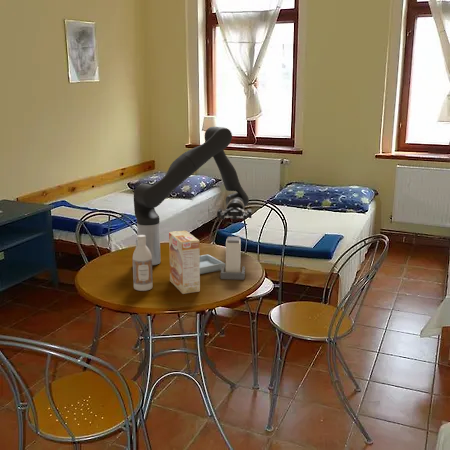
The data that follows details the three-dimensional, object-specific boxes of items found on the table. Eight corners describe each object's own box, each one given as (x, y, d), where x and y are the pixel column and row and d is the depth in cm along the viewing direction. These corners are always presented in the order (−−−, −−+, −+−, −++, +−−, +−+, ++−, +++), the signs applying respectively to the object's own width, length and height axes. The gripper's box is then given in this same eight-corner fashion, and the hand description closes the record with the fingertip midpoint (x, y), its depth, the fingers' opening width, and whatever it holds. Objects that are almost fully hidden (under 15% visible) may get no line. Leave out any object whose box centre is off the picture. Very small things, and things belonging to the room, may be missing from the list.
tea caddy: (239, 278, 213) (240, 240, 209) (225, 277, 213) (225, 240, 209) (240, 272, 219) (240, 236, 215) (226, 272, 219) (226, 236, 215)
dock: (244, 279, 211) (244, 273, 210) (220, 279, 212) (220, 272, 211) (244, 272, 219) (244, 266, 219) (222, 271, 220) (222, 265, 219)
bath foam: (134, 292, 198) (132, 238, 193) (133, 285, 204) (131, 233, 199) (153, 290, 199) (152, 237, 194) (151, 284, 206) (150, 232, 201)
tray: (194, 275, 215) (194, 268, 215) (178, 265, 227) (178, 259, 226) (225, 269, 223) (225, 263, 222) (208, 260, 234) (208, 254, 233)
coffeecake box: (169, 280, 209) (168, 231, 204) (186, 278, 212) (186, 229, 207) (182, 294, 196) (181, 242, 191) (200, 291, 199) (200, 240, 194)
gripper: (219, 199, 237) (216, 208, 221) (252, 200, 236) (251, 208, 220) (219, 216, 239) (216, 226, 223) (251, 217, 238) (251, 226, 222)
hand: (233, 217), depth 222 cm, fingers open, 8 cm apart
